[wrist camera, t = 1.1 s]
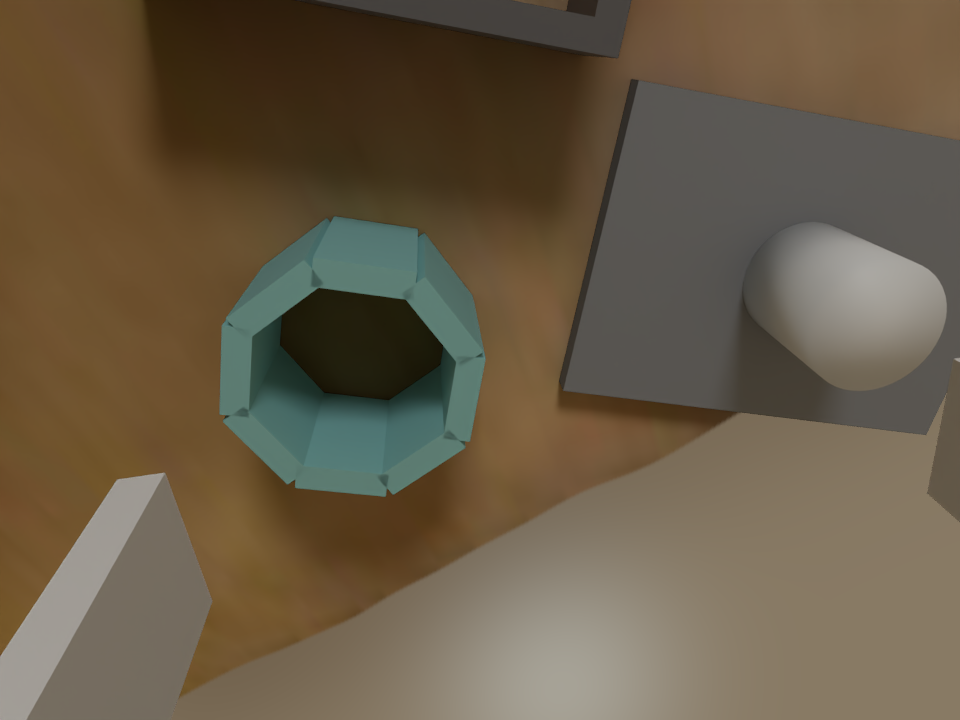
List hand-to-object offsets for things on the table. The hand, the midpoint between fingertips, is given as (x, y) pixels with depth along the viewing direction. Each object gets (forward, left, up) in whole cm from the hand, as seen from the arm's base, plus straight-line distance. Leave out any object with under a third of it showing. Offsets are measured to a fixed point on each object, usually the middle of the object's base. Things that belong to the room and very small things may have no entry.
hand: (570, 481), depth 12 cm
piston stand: (+14, 0, -19) cm, 23 cm away
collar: (-4, -5, -19) cm, 20 cm away
